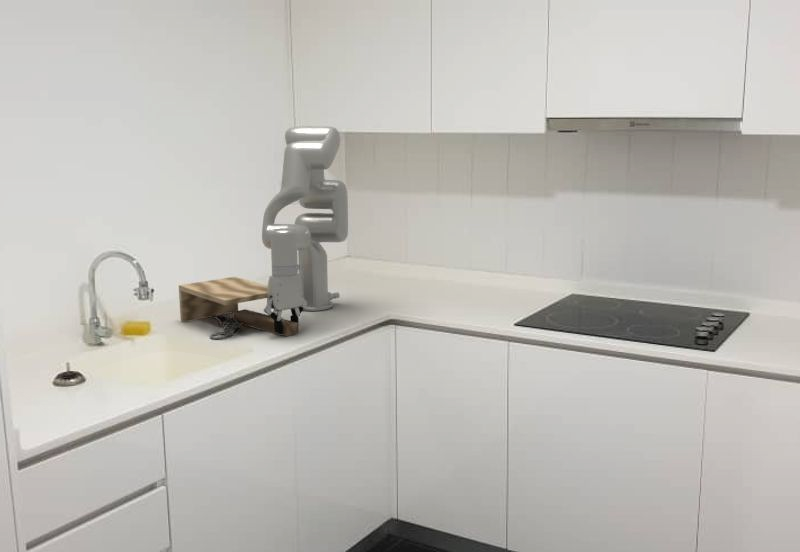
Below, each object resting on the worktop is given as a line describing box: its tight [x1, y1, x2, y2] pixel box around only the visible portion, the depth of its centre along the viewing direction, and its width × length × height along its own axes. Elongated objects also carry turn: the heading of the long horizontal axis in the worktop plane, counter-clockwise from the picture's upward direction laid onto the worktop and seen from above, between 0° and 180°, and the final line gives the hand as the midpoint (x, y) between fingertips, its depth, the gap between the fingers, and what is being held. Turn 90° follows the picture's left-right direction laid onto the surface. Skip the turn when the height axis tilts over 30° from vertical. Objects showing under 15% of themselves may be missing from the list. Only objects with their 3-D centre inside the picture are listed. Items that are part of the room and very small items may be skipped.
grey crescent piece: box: [209, 315, 242, 341], centre depth 252 cm, size 28×2×10 cm
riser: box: [178, 276, 268, 323], centre depth 255 cm, size 20×28×12 cm
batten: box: [232, 308, 299, 337], centre depth 251 cm, size 3×26×5 cm
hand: (286, 330), depth 244 cm, fingers closed on batten, 4 cm apart
